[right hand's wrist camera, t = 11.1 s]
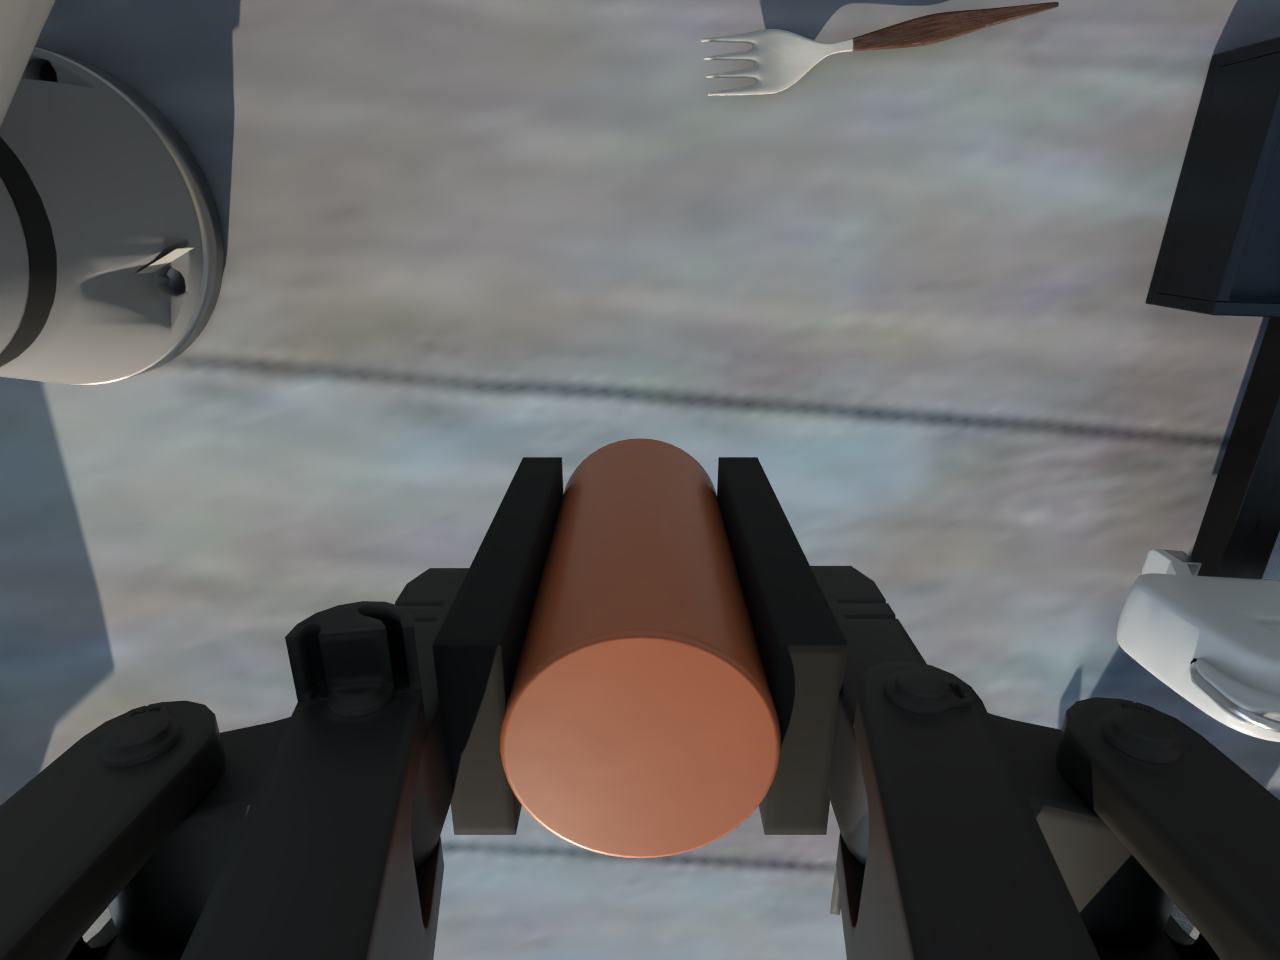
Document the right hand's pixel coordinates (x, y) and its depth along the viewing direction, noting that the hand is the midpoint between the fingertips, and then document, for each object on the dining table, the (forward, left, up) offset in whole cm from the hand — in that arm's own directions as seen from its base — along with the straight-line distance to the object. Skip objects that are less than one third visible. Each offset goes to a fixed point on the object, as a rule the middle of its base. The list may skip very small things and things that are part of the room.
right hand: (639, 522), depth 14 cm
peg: (0, 0, 0) cm, 0 cm away
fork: (-8, +15, -25) cm, 30 cm away
